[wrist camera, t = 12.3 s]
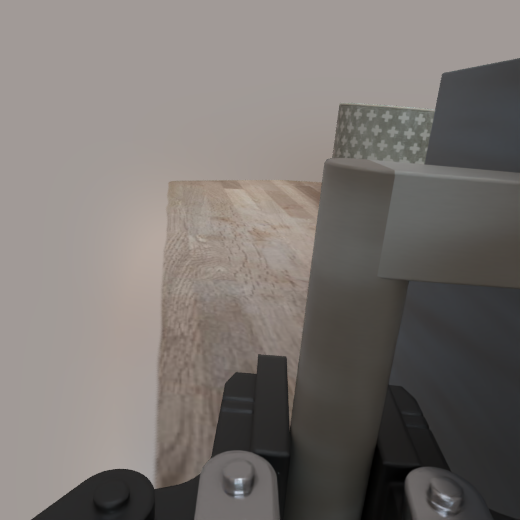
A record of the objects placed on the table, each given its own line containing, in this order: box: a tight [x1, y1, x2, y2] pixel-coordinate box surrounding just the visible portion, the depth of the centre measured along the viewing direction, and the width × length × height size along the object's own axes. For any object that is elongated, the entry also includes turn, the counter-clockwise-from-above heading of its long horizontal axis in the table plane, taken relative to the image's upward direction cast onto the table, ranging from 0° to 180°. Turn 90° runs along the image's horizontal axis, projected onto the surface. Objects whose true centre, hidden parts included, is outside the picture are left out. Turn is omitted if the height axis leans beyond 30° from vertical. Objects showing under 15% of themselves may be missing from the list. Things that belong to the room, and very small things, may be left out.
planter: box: [332, 103, 435, 164], centre depth 77 cm, size 19×19×18 cm
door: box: [283, 58, 520, 520], centre depth 14 cm, size 8×16×18 cm, turn 1°
